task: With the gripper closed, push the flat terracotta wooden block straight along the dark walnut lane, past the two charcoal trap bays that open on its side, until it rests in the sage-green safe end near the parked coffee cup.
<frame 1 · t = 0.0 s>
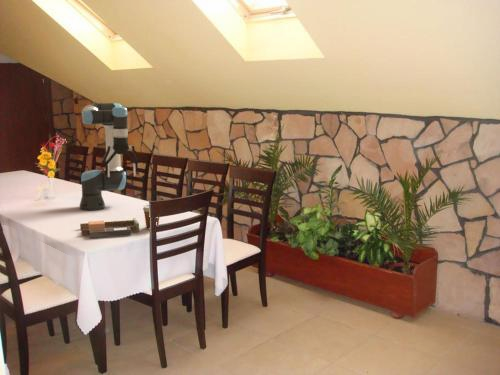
hand: (121, 176, 279), 28 cm above the table, fingers open, 13 cm apart
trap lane: (108, 230, 277), on the table
terracotta block: (96, 231, 275), resting in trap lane
disposable coffee cup: (152, 228, 284), on the table
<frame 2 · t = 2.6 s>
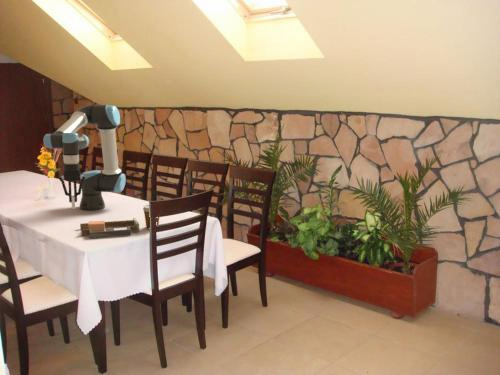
hand: (73, 208, 268), 13 cm above the table, fingers closed
nothing on the table moved.
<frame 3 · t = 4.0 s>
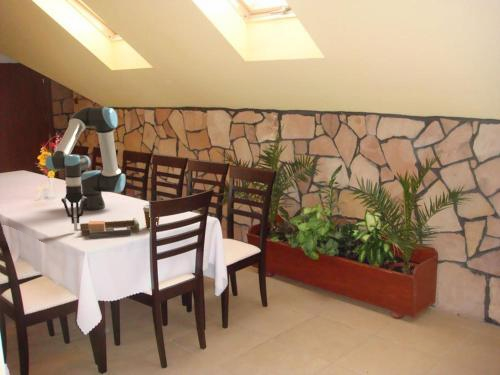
hand: (75, 229, 271), 2 cm above the table, fingers closed
nothing on the table moved.
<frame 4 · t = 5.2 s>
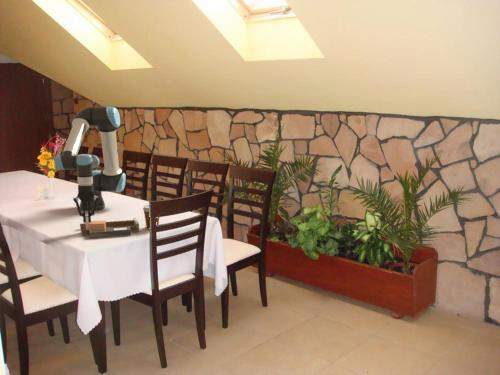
hand: (87, 228, 273), 2 cm above the table, fingers closed
terracotta block: (97, 231, 275), resting in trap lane, touching gripper
everything else where it was.
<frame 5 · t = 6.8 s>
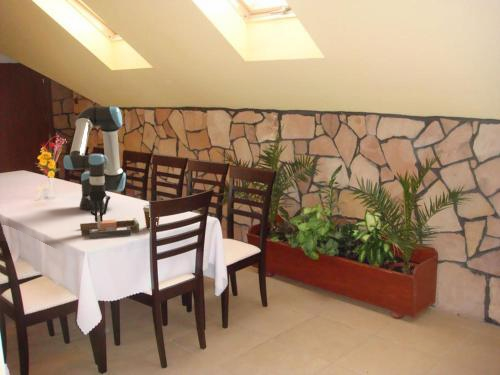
hand: (98, 227, 275), 2 cm above the table, fingers closed
terracotta block: (108, 230, 277), resting in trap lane, touching gripper
everything else where it was.
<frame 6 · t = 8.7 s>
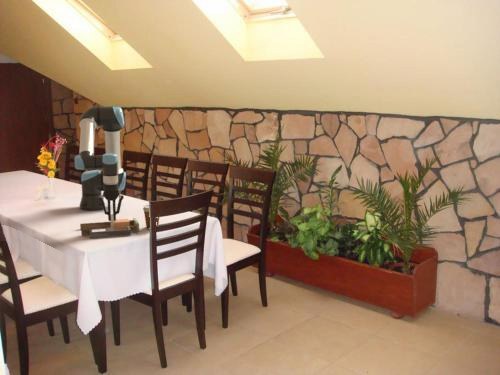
hand: (112, 226, 277), 2 cm above the table, fingers closed
terracotta block: (121, 229, 280), resting in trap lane
everything else where it was.
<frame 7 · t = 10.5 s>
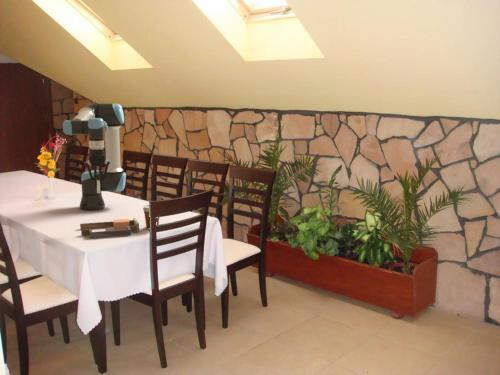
hand: (98, 192, 275), 20 cm above the table, fingers closed
nothing on the table moved.
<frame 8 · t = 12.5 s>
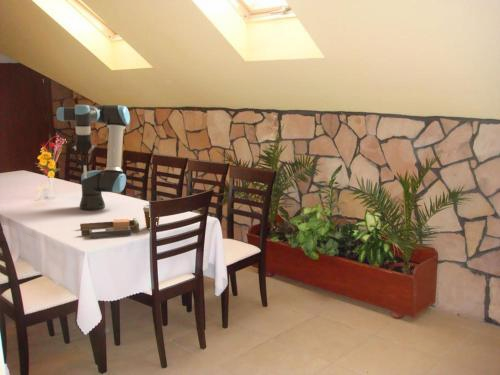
hand: (85, 177, 282), 26 cm above the table, fingers closed
nothing on the table moved.
at the end: terracotta block inside the target area (1.4 cm from its centre), resting in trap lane; terracotta block tilted 0° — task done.
